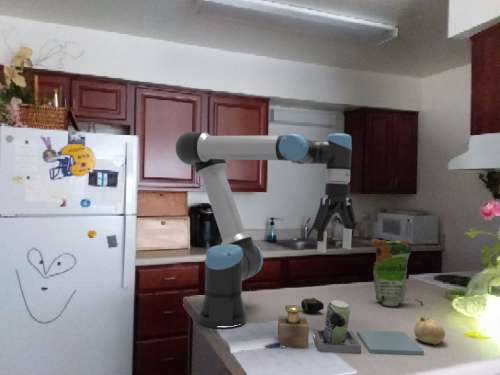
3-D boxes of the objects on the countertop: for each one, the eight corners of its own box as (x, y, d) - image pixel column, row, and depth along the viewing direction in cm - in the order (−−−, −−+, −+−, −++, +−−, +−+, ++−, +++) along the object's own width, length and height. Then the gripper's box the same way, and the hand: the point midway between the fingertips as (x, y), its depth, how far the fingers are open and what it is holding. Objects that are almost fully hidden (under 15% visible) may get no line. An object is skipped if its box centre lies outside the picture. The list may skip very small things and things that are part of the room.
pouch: (412, 304, 147) (413, 239, 147) (393, 309, 140) (395, 241, 140) (387, 297, 156) (388, 236, 156) (368, 302, 149) (369, 237, 150)
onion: (435, 336, 115) (436, 313, 115) (450, 347, 107) (451, 322, 107) (409, 336, 115) (409, 312, 115) (422, 347, 107) (422, 321, 107)
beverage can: (329, 337, 112) (330, 296, 112) (353, 344, 107) (354, 301, 107) (318, 344, 107) (319, 300, 107) (343, 351, 102) (344, 306, 103)
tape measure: (325, 312, 133) (324, 301, 133) (307, 315, 131) (306, 304, 131) (315, 306, 140) (315, 296, 140) (298, 309, 138) (297, 299, 138)
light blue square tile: (370, 353, 102) (370, 349, 102) (356, 333, 116) (356, 330, 116) (423, 355, 102) (423, 351, 102) (403, 335, 116) (404, 331, 116)
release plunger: (285, 336, 105) (285, 309, 105) (284, 330, 110) (284, 304, 110) (301, 337, 105) (302, 309, 105) (299, 331, 110) (300, 305, 110)
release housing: (279, 348, 104) (279, 325, 104) (277, 337, 112) (278, 316, 112) (308, 349, 104) (308, 326, 104) (304, 338, 111) (305, 317, 111)
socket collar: (318, 351, 102) (319, 344, 102) (313, 336, 113) (313, 329, 113) (360, 353, 102) (361, 345, 102) (351, 337, 113) (351, 330, 113)
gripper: (323, 181, 111) (320, 255, 111) (369, 184, 128) (366, 249, 128) (303, 181, 116) (299, 251, 116) (349, 184, 133) (346, 245, 133)
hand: (334, 250), depth 122 cm, fingers open, 13 cm apart
